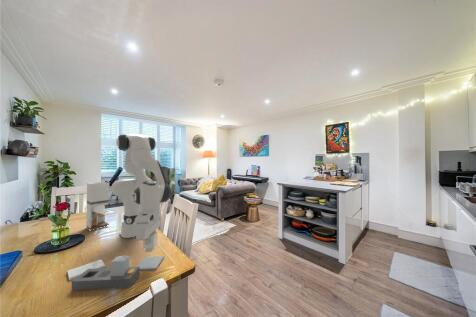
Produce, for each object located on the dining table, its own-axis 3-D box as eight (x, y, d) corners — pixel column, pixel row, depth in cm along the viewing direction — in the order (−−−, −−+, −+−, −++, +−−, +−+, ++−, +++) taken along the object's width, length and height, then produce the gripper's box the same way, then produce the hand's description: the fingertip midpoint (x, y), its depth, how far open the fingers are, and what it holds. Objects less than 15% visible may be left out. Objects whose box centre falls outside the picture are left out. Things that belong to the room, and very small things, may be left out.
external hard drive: (67, 273, 78) (101, 261, 88) (68, 282, 73) (105, 268, 82) (67, 270, 78) (101, 258, 88) (68, 278, 73) (105, 264, 82)
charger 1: (117, 270, 74) (117, 256, 74) (129, 269, 74) (129, 255, 74) (110, 276, 70) (111, 261, 70) (123, 275, 70) (123, 261, 70)
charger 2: (146, 248, 86) (146, 232, 87) (156, 248, 87) (157, 232, 87) (142, 252, 82) (143, 235, 83) (153, 252, 83) (153, 235, 83)
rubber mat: (144, 258, 89) (144, 257, 89) (163, 257, 90) (163, 256, 90) (134, 270, 79) (134, 269, 79) (156, 269, 80) (156, 268, 80)
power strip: (88, 277, 75) (88, 267, 75) (139, 274, 76) (139, 265, 77) (71, 290, 67) (71, 279, 67) (129, 287, 68) (129, 277, 69)
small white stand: (90, 231, 125) (90, 183, 126) (86, 228, 132) (87, 182, 133) (108, 226, 135) (109, 182, 135) (104, 223, 141) (104, 181, 142)
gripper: (152, 208, 95) (152, 233, 95) (132, 220, 75) (132, 252, 74) (164, 207, 96) (164, 232, 95) (147, 219, 75) (147, 251, 75)
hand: (150, 241), depth 85 cm, fingers closed on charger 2, 4 cm apart
